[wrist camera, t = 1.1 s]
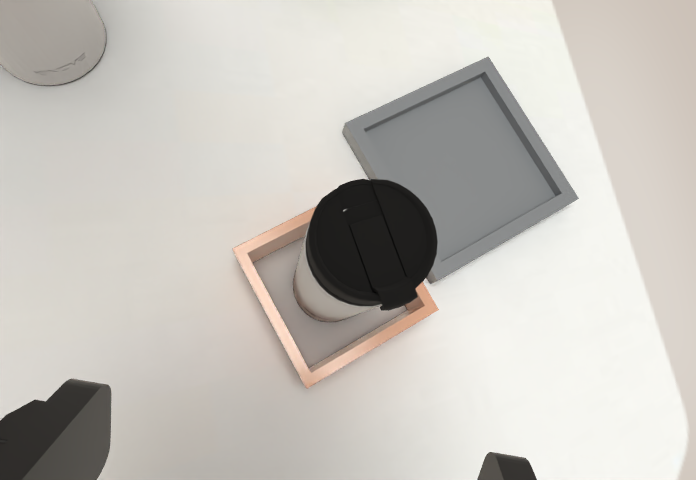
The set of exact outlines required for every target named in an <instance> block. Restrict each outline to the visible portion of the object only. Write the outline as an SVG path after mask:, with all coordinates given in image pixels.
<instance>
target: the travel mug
mask: <svg viewBox="0 0 696 480" xmlns="http://www.w3.org/2000/svg"><path fill="white" fill-rule="evenodd" d="M437 244H438V240H437V232H436V228H435V225H434V221H433V218H432V217H431V215H430V213H429V211H428V209H427V208H426V206H425V205H424V204H423V203H422V201H421V200H420V199H419V198H418V197H417V196H416V195H415V194H413V193H412V192H411V191H410V190H408V189H407V188H405V187H403V186H402V185H400V184H398V183H395V182H392V181H390V180H383V179H371V180H366V179H360V180H354V181H350V182H347V183H345V184H342V185H340V186H339V187H338V188H337V189H335V190H333V191H332V192H331V193H329V194H328V195H326V196H325V197H324V198H322V199H321V201H320V202H319V204H318V205H317V207H316V208H315V211H314V213H313V215H312V218H311V221H310V224H309V226H308V228H307V231H306V235H305V238H304V242H303V246H302V249H301V253H300V257H299V260H298V264H297V268H296V271H295V275H294V280H293V291H294V295H295V298H296V301H297V303H298V304H299V306H300V307H301V309H302V310H303V311H304V312H305V313H306V314H307V315H309V316H311V317H312V318H314V319H317V320H319V321H324V322H336V321H340V320H343V319H346V318H349V317H352V316H354V315H357V314H360V313H362V312H365V311H368V310H371V309H373V308H376V307H379V306H381V305H382V306H381V307H380V309H381V310H391V309H395V308H398V307H401V306H403V305H406V304H408V303H410V302H412V301H413V300H415V299H416V298H417V297H418V295H417V292H416V288H417V287H418V286H419V285H420V284H421V283H422V282H423V281H424V279H425V278H426V277H427V276H428V274H429V272H430V270H431V269H432V267H433V264H434V261H435V258H436V255H437Z"/></svg>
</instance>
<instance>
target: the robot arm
mask: <svg viewBox="0 0 696 480" xmlns="http://www.w3.org/2000/svg"><path fill="white" fill-rule="evenodd" d="M105 44H106V31H105V27H104V24H103V22H102V20H101V18H100V16H99V14H98V12H97V10H96V8H95V6H94V5H93V3H92V1H91V0H0V64H1V65H2V66H3V67H4V68H5V69H6V70H7V71H8V72H10V73H11V74H12V75H13V76H15V77H17V78H19V79H21V80H23V81H26V82H29V83H33V84H37V85H58V84H64V83H67V82H71V81H73V80H75V79H78V78H80V77H82V76H83V75H85V74H86V73H87V72H89V71H90V70H91V69H92V68H93V67H94V66H95V65H96V64H97V62H98V61H99V60H100V58H101V56H102V54H103V52H104V48H105ZM110 435H111V389H110V386H109V385H106V384H100V383H94V382H88V381H82V380H77V379H69V380H68V381H66V382H65V383H64V384H63V385H62V386H61V387H60V388H59V389H58V390H57V391H56V392H55V393H54V394H53V395H52V396H51V397H50V398H49V399H48V400H47V401H46V402H45V401H39V400H33V401H32V402H30V403H28V404H26V405H24V406H22V407H21V408H19V409H17V410H15V411H13V412H11V413H9V414H8V415H6V416H5V417H4V418H3V419H2V420H1V421H0V480H97V478H98V477H99V475H100V473H101V471H102V469H103V467H104V465H105V462H106V460H107V457H108V453H109V449H110ZM477 480H537V479H536V477H535V474H534V472H533V470H532V467H531V465H530V463H529V461H528V460H527V459H526V458H523V457H517V456H511V455H505V454H499V453H494V452H489V453H488V454H487V455H486V457H485V459H484V462H483V465H482V468H481V471H480V474H479V476H478V479H477Z"/></svg>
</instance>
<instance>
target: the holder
mask: <svg viewBox="0 0 696 480" xmlns="http://www.w3.org/2000/svg"><path fill="white" fill-rule="evenodd" d="M316 207H317V206H316ZM316 207H314V208H312V209H310V210H308V211H306V212H304V213H302V214H300V215H298V216H296V217H294V218H292V219H290V220H288V221H286V222H284V223H282V224H280V225H278V226H276V227H274V228H272V229H270V230H268V231H266V232H264V233H262V234H260V235H258V236H257V237H255V238H253V239H251V240H249V241H247V242H245V243H243V244H241V245H239V246H237V247H235V248H233V252H234V254H235V256H236V258H237V260H238V262H239V264H240V266H241V268H242V270H243V272H244V274H245V275H246V277H247V279H248V281H249V283H250V285H251V287H252V289H253V290H254V292H255V294H256V296H257V298H258V300H259V302H260V304H261V305H262V307H263V309H264V311H265V313H266V315H267V317H268V319H269V321H270V322H271V324H272V326H273V328H274V330H275V332H276V334H277V336H278V337H279V339H280V341H281V343H282V345H283V347H284V349H285V351H286V352H287V354H288V356H289V358H290V360H291V362H292V364H293V366H294V368H295V369H296V371H297V373H298V375H299V377H300V379H301V381H302V383H303V384H304V386H305V387H306V388H309V387H311V386H312V385H314V384H316V383H317V382H319V381H321V380H322V379H324V378H326V377H327V376H329V375H331V374H332V373H334V372H336V371H337V370H339V369H341V368H342V367H344V366H346V365H347V364H349V363H351V362H352V361H354V360H356V359H357V358H359V357H361V356H362V355H364V354H366V353H367V352H369V351H371V350H372V349H374V348H376V347H377V346H379V345H381V344H382V343H384V342H386V341H387V340H389V339H391V338H392V337H394V336H396V335H397V334H399V333H401V332H402V331H404V330H406V329H407V328H409V327H411V326H412V325H414V324H416V323H417V322H419V321H421V320H422V319H424V318H426V317H427V316H429V315H431V314H432V313H434V312H436V311H437V310H439V309H438V308H437V306H436V304H435V302H434V301H433V299H432V297H431V296H430V294H429V292H428V290H427V289H426V287H425V285H424V284H423V282H422V283H421V284H420V285H419V286H418V287H417V288H416V292H417V295H418V297H417V298H416V299H415V300H413V301H412V302H410V303H408V304H406V305H405V306H406V308H407V311H405V312H404V313H402V314H400V315H399V316H397V317H395V318H393V319H392V320H390V321H388V322H387V323H385V324H383V325H382V326H380V327H378V328H376V329H375V330H373V331H371V332H370V333H368V334H366V335H365V336H363V337H361V338H360V339H358V340H356V341H354V342H353V343H351V344H349V345H348V346H346V347H344V348H343V349H341V350H339V351H337V352H336V353H334V354H332V355H331V356H329V357H327V358H326V359H324V360H322V361H320V362H319V363H317V364H315V365H314V366H312V367H310V368H308V366H307V364H306V362H305V361H304V359H303V357H302V355H301V353H300V351H299V349H298V348H297V346H296V344H295V342H294V340H293V338H292V336H291V334H290V333H289V331H288V329H287V327H286V325H285V323H284V321H283V320H282V318H281V316H280V314H279V312H278V310H277V308H276V306H275V305H274V303H273V301H272V299H271V297H270V295H269V293H268V291H267V290H266V288H265V286H264V284H263V282H262V280H261V278H260V277H259V275H258V273H257V271H256V269H255V267H254V265H253V262H255V261H257V260H259V259H261V258H263V257H265V256H267V255H269V254H271V253H273V252H274V251H276V250H278V249H280V248H282V247H284V246H286V245H288V244H290V243H292V242H294V241H296V240H298V239H300V238H302V237H304V236H305V235H306V231H307V228H308V226H309V224H310V221H311V218H312V215H313V213H314V211H315V208H316Z"/></svg>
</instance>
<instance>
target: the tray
mask: <svg viewBox="0 0 696 480" xmlns="http://www.w3.org/2000/svg"><path fill="white" fill-rule="evenodd" d="M342 133H343V135H344V136H345V138H346V140H347V142H348V143H349V145H350V147H351V148H352V150H353V152H354V154H355V155H356V157H357V159H358V161H359V162H360V164H361V166H362V167H363V169H364V171H365V173H366V174H367V176H368V178H369V179H370V180H371V179H383V180H390V181H392V182H395V183H398V184H400V185H402V186H403V187H405V188H407V189H408V190H410V191H411V192H412V193H413V194H415V195H416V196H417V197H418V198H419V199H420V200H421V201H422V203H423V204H424V205H425V206H426V208H427V209H428V211H429V213H430V215H431V217H432V218H433V221H434V225H435V228H436V232H437V240H438V244H437V255H436V258H435V261H434V264H433V267H432V269H431V270H430V272H429V274H428V276H427V277H426V278H427V279H428V281H429V283H430V284H431V283H433V282H436V281H438V280H440V279H441V278H443V277H445V276H447V275H448V274H450V273H452V272H453V271H455V270H457V269H459V268H460V267H462V266H464V265H465V264H467V263H469V262H471V261H472V260H474V259H476V258H478V257H479V256H481V255H483V254H484V253H486V252H488V251H490V250H491V249H493V248H495V247H496V246H498V245H500V244H502V243H503V242H505V241H507V240H508V239H510V238H512V237H514V236H515V235H517V234H519V233H520V232H522V231H524V230H526V229H527V228H529V227H531V226H533V225H534V224H536V223H538V222H539V221H541V220H543V219H545V218H546V217H548V216H550V215H551V214H553V213H555V212H557V211H558V210H560V209H562V208H563V207H565V206H567V205H569V204H570V203H572V202H574V201H576V200H577V199H579V198H578V197H577V195H576V193H575V192H574V190H573V189H572V187H571V186H570V184H569V182H568V181H567V179H566V178H565V176H564V175H563V173H562V171H561V170H560V168H559V167H558V165H557V164H556V162H555V160H554V159H553V157H552V156H551V154H550V153H549V151H548V149H547V148H546V146H545V145H544V143H543V142H542V140H541V138H540V137H539V135H538V134H537V132H536V131H535V129H534V127H533V126H532V124H531V123H530V121H529V120H528V118H527V116H526V115H525V113H524V112H523V110H522V109H521V107H520V105H519V104H518V102H517V101H516V99H515V98H514V96H513V94H512V93H511V91H510V90H509V88H508V87H507V85H506V83H505V82H504V80H503V79H502V77H501V76H500V74H499V72H498V71H497V69H496V68H495V66H494V65H493V63H492V61H491V60H490V58H489V57H486V58H484V59H482V60H480V61H478V62H476V63H474V64H471V65H469V66H467V67H465V68H463V69H461V70H458V71H456V72H454V73H452V74H450V75H448V76H446V77H443V78H441V79H439V80H437V81H435V82H433V83H430V84H428V85H426V86H424V87H422V88H420V89H418V90H415V91H413V92H411V93H409V94H407V95H405V96H402V97H400V98H398V99H396V100H394V101H392V102H390V103H387V104H385V105H383V106H381V107H379V108H377V109H375V110H372V111H370V112H368V113H366V114H364V115H362V116H359V117H357V118H355V119H353V120H351V121H349V122H347V123H345V126H344V129H343V132H342Z"/></svg>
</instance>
